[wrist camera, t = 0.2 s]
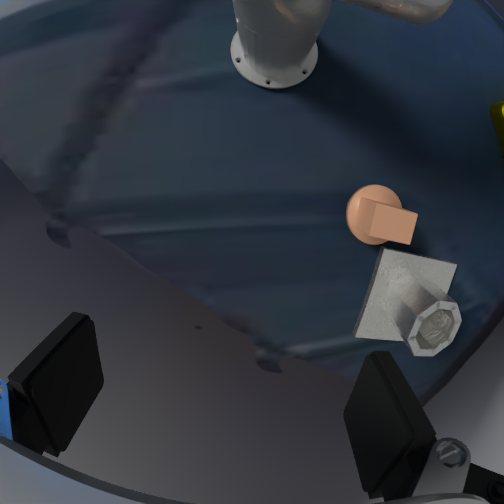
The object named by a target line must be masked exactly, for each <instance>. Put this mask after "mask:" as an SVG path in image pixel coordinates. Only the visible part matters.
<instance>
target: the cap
mask: <svg viewBox="0 0 504 504" xmlns="http://www.w3.org/2000/svg"><path fill="white" fill-rule="evenodd" d="M417 216H418V214H416V213H414V212H411V211H409V210H406V209H404V208H402V205H401V202H400V200H399V198H398V197H397V195H396V194H395V193H394V192H393V191H392V190H390V189H389V188H387V187H384V186H380V185H374V184H371V185H366V186H363V187H361V188H359V189H358V190H357V191H356V192H355V193H354V194H353V195H352V196H351V198H350V199H349V201H348V204H347V207H346V221H347V225H348V227H349V229H350V231H351V232H352V233H353V234H354V235H355V236H356V237H357V238H358V239H359V240H361V241H362V242H364V243H367V244H372V245H377V244H382V243H385V242H387V241H388V240H391V241H395V242H400V243H404V244H408V245H410V242H411V239H412V235H413V231H414V227H415V224H416V220H417Z"/></svg>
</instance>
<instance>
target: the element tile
mask: <svg viewBox="0 0 504 504" xmlns="http://www.w3.org/2000/svg"><path fill="white" fill-rule="evenodd" d="M490 115H491V118H492V121H493V124H494V127H495V130H496V133H497V136H498V140H499V143H500V146H501V150H502V153H503V157H504V100H503V101H500V102H497V103H495V104H493V105H492V106H491V108H490Z"/></svg>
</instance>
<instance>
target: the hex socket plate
mask: <svg viewBox="0 0 504 504" xmlns="http://www.w3.org/2000/svg"><path fill="white" fill-rule="evenodd" d="M456 267H457V264H455V263H454V262H451V261H447V260H442V259H438V258H433V257H429V256H425V255H420V254H416V253H411V252H407V251H402V250H397V249H393V248H388V247H383V246H381V247H380V250H379V254H378V257H377V261H376V264H375V267H374V271H373V274H372V277H371V281H370V284H369V287H368V290H367V293H366V296H365V299H364V302H363V305H362V308H361V311H360V314H359V317H358V319H357V322H356V325H355V328H354V330H353V334H354V336H355V337H360V338H371V339H383V340H396V341H404V342H405V343H406V345H407V346H408V347H409V349H410V350H411V352H412V353H413V355H414V356H434V355H435V354H437V353H438V352H440V351H441V350H442V349H444V348H445V347H446V346H448V345H449V344H450V343H452V341H453V339H454V337H455V335H456V333H457V331H458V328H459V326H460V324H461V322H462V319H461V316H460V312H459V309H458V305H457V303H456V302H455V301H454V300H453V299H452V298H451V297H449V296H448V295H447V292H448V290H449V287H450V284H451V281H452V278H453V276H454V273H455V270H456Z"/></svg>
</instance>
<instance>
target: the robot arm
mask: <svg viewBox="0 0 504 504" xmlns="http://www.w3.org/2000/svg"><path fill="white" fill-rule="evenodd" d="M338 1H342V2H346V3H349V4H353V5H356V6H360V7H363V8H366V9H370V10H373V11H376V12H379V13H382V14H385V15H388V16H391V17H393V18H396V19H400V20H403V21H406V22H410V23H415V24H427V23H431V22H433V21H436V20H437V19H438V18H440V17H441V16H442V15H443V14H444V13H445V12H446V11H447V10H448V8H449V7H450V5H451V3H452V2H453V0H338ZM233 5H234V11H235V17H236V22H237V28H238V31H237V32H236V34H235V35H234V37H233V40H232V43H231V58H232V61H233V63H234V66H235V68H236V69H237V71H238V72H239V73H240V75H242V76H243V77H244V78H245V79H246V80H248V81H249V82H251V83H253V84H255V85H257V86H260V87H264V88H268V89H284V88H289V87H292V86H295V85H297V84H299V83H301V82H302V81H303V80H305V79H306V78H307V77H308V76H309V75H310V74H311V73H312V71H313V69H314V68H315V65H316V63H317V59H318V47H317V44H316V39H317V37H318V35H319V33H320V31H321V29H322V27H323V25H324V23H325V21H326V19H327V17H328V15H329V12H330V9H331V0H233ZM237 61H240V63H237ZM302 72H305V73H306V74H303V73H302ZM267 82H270V84H269V85H268V84H266V83H267ZM8 379H9V382H8V383H7V384H5V382H4V381H2V380H1V379H0V504H194V503H188V502H183V501H177V500H172V499H167V498H163V497H159V496H154V495H150V494H146V493H142V492H139V491H135V490H132V489H128V488H125V487H121V486H118V485H115V484H111V483H109V482H106V481H103V480H100V479H97V478H94V477H92V476H89V475H86V474H83V473H81V472H79V471H76V470H74V469H71V468H69V467H67V466H64V465H62V464H60V463H58V462H55V461H53V460H51V459H49V458H46V457H44V456H42V454H43V452H44V451H45V452H47V453H49V454H51V455H53V456H55V457H58V456H59V453H60V452H61V451H65V450H66V449H67V447H68V445H69V443H70V441H71V439H72V438H73V436H74V434H75V433H76V431H77V429H78V427H79V426H80V424H81V422H82V421H83V419H84V417H85V416H86V414H87V412H88V410H89V408H90V407H91V405H92V404H93V402H94V400H95V399H96V397H97V395H98V393H99V392H100V390H101V389H102V387H103V383H104V377H103V373H102V367H101V362H100V358H99V352H98V346H97V340H96V333H95V326H94V322H93V321H92V320H90V317H89V316H88V315H85V314H81V313H77V312H73V313H71V314H70V315H69V316H68V317H67V318H66V319H65V320H64V321H63V322H62V323H61V324H60V325H59V326H58V327H57V328H55V330H54V331H52V332H51V333H50V334H49V335H48V336H47V337H46V338H45V339H44V340H43V341H42V342H41V343H40V344H39V345H38V346H37V347H36V348H35V349H34V350H33V351H32V352H31V353H30V354H29V355H28V356H27V357H26V358H25V359H24V360H23V361H22V362H21V363H20V364H19V365H18V366H17V367H16V368H15V370H14V371H13V372H12V373H11V374H10V375H9V376H8ZM344 421H345V424H346V428H347V432H348V435H349V439H350V442H351V446H352V450H353V454H354V457H355V461H356V465H357V468H358V473H359V476H360V480H361V484H362V488H363V490H364V491H365V492H368V495H369V499H374V498H379V497H383V498H384V502H380V503H374V504H504V476H503V475H500V474H497V473H495V472H492V471H490V470H487V469H485V468H482V467H480V466H477V465H475V464H473V463H470V459H471V454H470V451H469V449H468V448H467V446H466V445H465V444H464V443H463V442H462V441H459V440H458V439H455V438H451V437H445V438H441V439H439V440H438V441H437V439H436V437H435V435H436V432H435V430H434V429H433V427H432V425H431V423H430V421H429V419H428V418H427V416H426V414H425V412H424V411H423V408H422V407H421V405H420V403H419V401H418V400H417V398H416V396H415V394H414V392H413V391H412V389H411V387H410V386H409V384H408V382H407V380H406V379H405V377H404V375H403V374H402V372H401V370H400V368H399V367H398V365H397V363H396V362H395V360H394V358H393V357H392V355H391V354H390V352H388V351H373V352H372V353H371V354H370V355H367V356H366V358H365V360H364V363H363V365H362V368H361V371H360V373H359V376H358V378H357V381H356V383H355V386H354V388H353V391H352V393H351V395H350V398H349V400H348V402H347V405H346V407H345V410H344Z"/></svg>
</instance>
